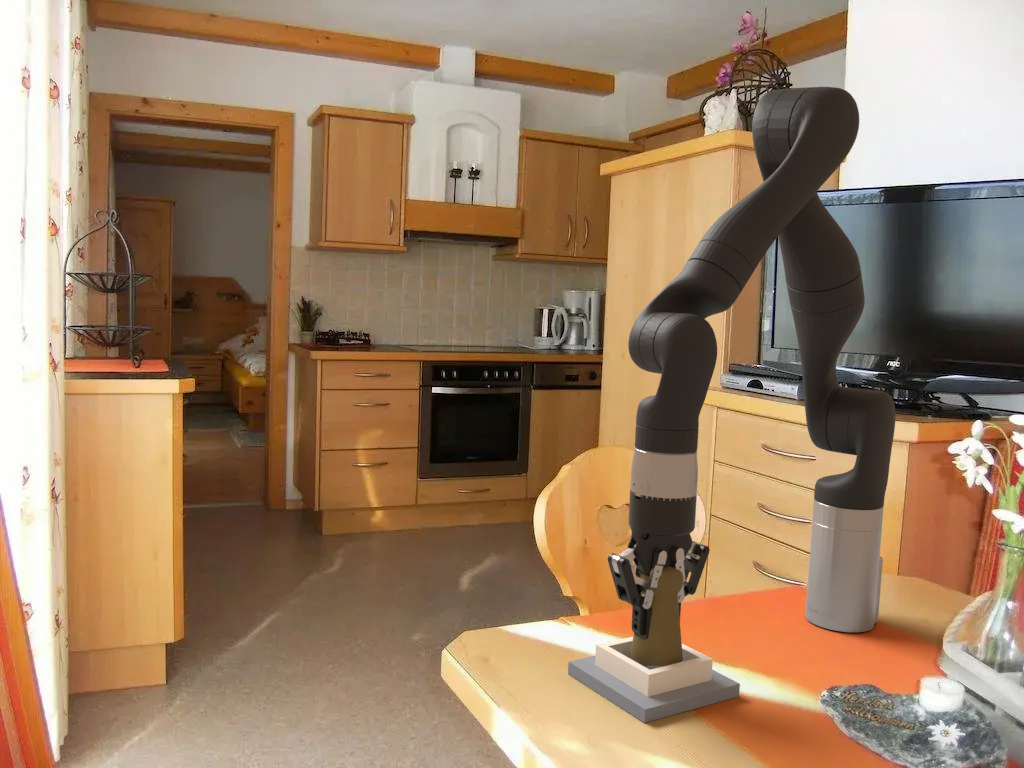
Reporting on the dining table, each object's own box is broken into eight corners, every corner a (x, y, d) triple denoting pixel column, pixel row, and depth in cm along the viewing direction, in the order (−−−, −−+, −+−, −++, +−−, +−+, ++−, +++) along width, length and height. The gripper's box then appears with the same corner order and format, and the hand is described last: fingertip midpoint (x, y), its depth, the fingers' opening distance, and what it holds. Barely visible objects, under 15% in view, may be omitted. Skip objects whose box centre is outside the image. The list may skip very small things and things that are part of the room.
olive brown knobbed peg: (682, 669, 104) (687, 573, 103) (628, 663, 105) (633, 568, 104) (683, 649, 110) (688, 558, 109) (632, 643, 111) (636, 554, 110)
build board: (657, 652, 118) (659, 622, 117) (739, 696, 106) (741, 662, 105) (567, 673, 110) (569, 641, 110) (644, 723, 98) (646, 686, 98)
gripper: (687, 477, 112) (679, 614, 114) (593, 486, 105) (586, 633, 107) (732, 489, 106) (723, 635, 108) (636, 500, 99) (628, 657, 100)
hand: (655, 633), depth 107 cm, fingers closed on olive brown knobbed peg, 3 cm apart
